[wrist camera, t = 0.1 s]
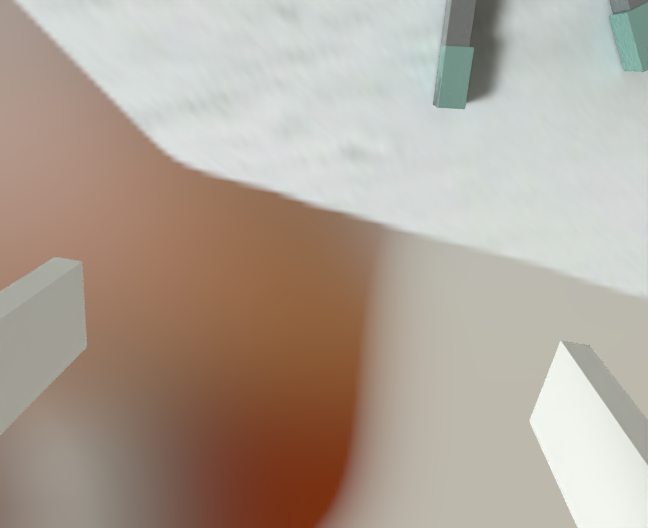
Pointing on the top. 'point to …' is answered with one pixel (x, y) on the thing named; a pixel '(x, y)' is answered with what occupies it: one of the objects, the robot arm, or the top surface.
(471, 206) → the top surface
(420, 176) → the top surface
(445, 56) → the arm
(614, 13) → the tongs free arm
